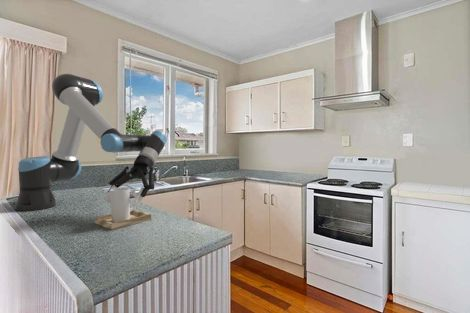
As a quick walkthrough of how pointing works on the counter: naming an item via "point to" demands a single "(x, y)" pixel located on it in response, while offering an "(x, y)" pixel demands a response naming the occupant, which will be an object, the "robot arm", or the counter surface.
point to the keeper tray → (134, 219)
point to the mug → (121, 203)
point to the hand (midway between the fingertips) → (121, 202)
